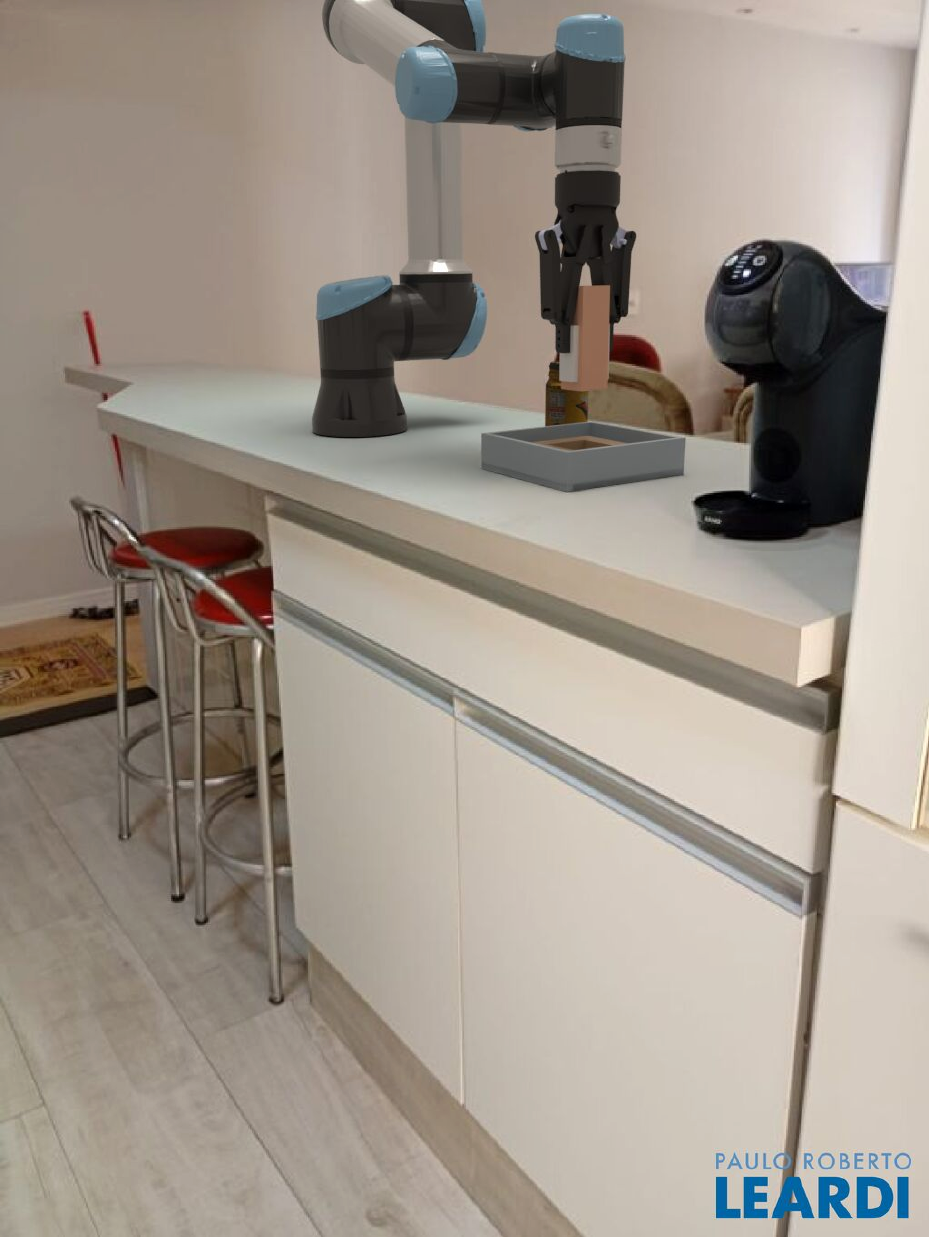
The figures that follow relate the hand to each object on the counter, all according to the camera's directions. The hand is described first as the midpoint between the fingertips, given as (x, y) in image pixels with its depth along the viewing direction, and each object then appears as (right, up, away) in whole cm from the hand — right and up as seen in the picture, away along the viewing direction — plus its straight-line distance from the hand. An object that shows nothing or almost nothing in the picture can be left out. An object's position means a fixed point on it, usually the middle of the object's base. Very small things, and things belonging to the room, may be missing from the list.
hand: (583, 379), depth 123 cm
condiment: (-1, -5, +21) cm, 22 cm away
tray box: (0, -11, +4) cm, 11 cm away
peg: (0, -1, 0) cm, 1 cm away
